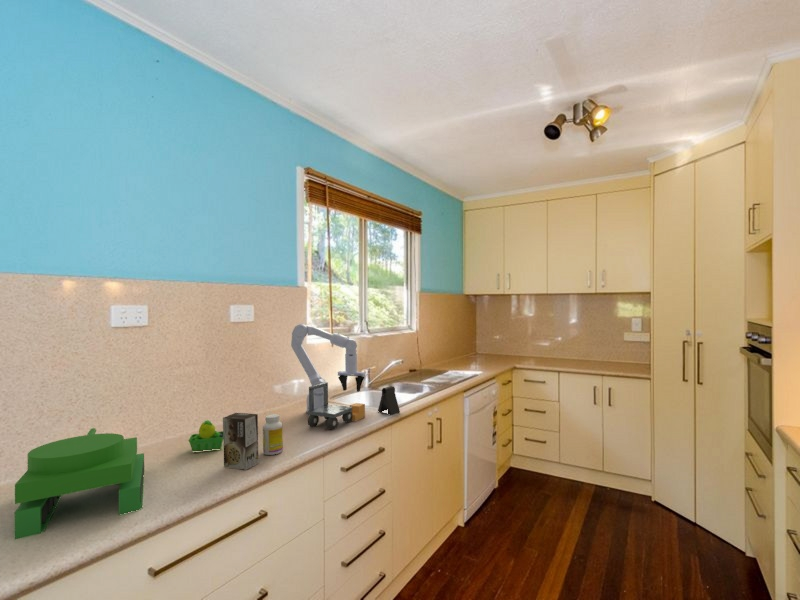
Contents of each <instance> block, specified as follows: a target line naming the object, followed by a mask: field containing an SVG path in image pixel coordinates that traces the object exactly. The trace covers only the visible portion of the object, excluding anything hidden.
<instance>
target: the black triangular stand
mask: <svg viewBox="0 0 800 600" xmlns="http://www.w3.org/2000/svg"><path fill="white" fill-rule="evenodd" d="M395 389H396V388H395V386H386V387H383V388H382V389H381V396H380V401H379V406H378V409H377V412H378V411H379V412H382V411H384V410H387V409H388V414H390V415H389V416H393V415H395V414H396V415H397V414H399V412H401V411H400V408H399V402H398V400H397V396H396V390H395ZM379 412H378V413H379ZM388 414H387V415H388Z"/></svg>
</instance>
